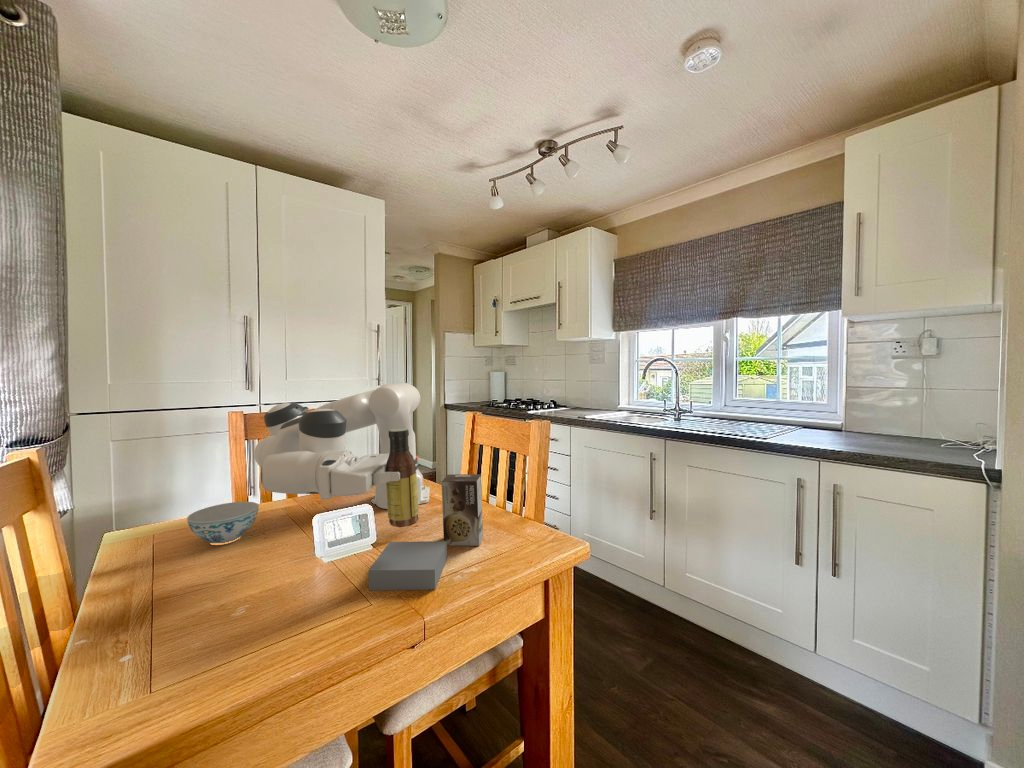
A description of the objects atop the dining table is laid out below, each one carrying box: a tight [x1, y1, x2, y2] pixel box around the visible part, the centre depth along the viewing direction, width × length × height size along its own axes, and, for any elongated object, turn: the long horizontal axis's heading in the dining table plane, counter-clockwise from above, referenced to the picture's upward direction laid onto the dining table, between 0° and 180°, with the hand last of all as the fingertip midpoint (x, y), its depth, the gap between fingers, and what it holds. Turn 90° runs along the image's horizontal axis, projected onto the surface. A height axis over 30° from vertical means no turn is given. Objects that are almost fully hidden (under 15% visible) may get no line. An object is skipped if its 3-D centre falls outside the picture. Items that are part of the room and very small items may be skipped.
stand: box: [368, 540, 448, 591], centre depth 85 cm, size 13×13×4 cm
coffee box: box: [440, 473, 484, 547], centre depth 101 cm, size 9×6×16 cm
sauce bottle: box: [385, 428, 419, 528], centre depth 84 cm, size 7×6×20 cm
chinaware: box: [186, 501, 259, 543], centre depth 104 cm, size 15×15×8 cm
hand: (405, 471), depth 84 cm, fingers closed on sauce bottle, 6 cm apart
